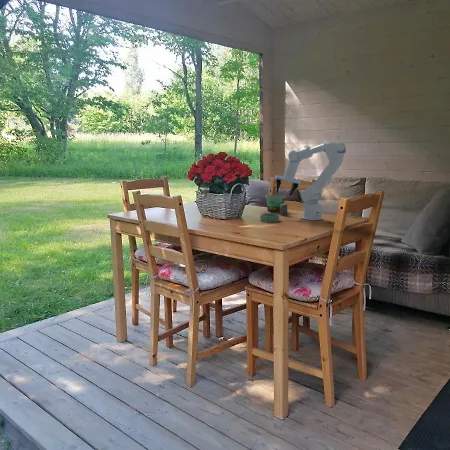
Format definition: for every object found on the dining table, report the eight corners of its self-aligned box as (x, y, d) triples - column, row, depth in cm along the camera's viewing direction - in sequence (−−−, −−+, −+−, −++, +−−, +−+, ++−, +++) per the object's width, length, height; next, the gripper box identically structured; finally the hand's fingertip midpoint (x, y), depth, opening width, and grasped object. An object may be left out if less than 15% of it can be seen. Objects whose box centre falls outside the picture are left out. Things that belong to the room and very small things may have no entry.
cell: (288, 215, 260) (288, 204, 258) (282, 216, 258) (283, 204, 256) (284, 214, 263) (284, 203, 262) (278, 215, 261) (278, 203, 260)
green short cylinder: (282, 220, 243) (282, 215, 243) (267, 222, 238) (267, 216, 238) (271, 218, 251) (271, 212, 251) (256, 219, 247) (256, 214, 246)
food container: (263, 212, 272) (263, 195, 270) (265, 210, 278) (265, 193, 276) (284, 212, 268) (284, 195, 266) (285, 211, 274) (286, 194, 272)
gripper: (302, 171, 258) (294, 193, 264) (277, 165, 256) (270, 187, 263) (304, 176, 252) (296, 198, 258) (278, 170, 250) (271, 192, 256)
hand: (283, 193), depth 260 cm, fingers open, 7 cm apart
